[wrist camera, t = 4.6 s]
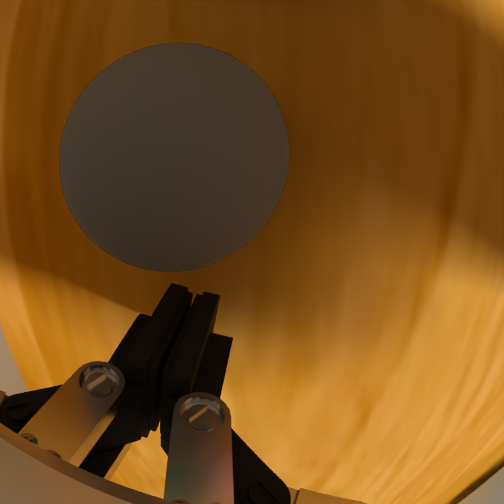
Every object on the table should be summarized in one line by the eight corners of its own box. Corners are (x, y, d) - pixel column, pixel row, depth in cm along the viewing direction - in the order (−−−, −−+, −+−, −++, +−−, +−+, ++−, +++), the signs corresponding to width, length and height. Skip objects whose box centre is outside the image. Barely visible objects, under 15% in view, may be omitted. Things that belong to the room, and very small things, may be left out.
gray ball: (206, 356, 7) (261, 227, 11) (329, 130, 3) (332, 83, 8) (24, 253, 7) (127, 167, 11) (16, 36, 3) (162, 23, 7)
